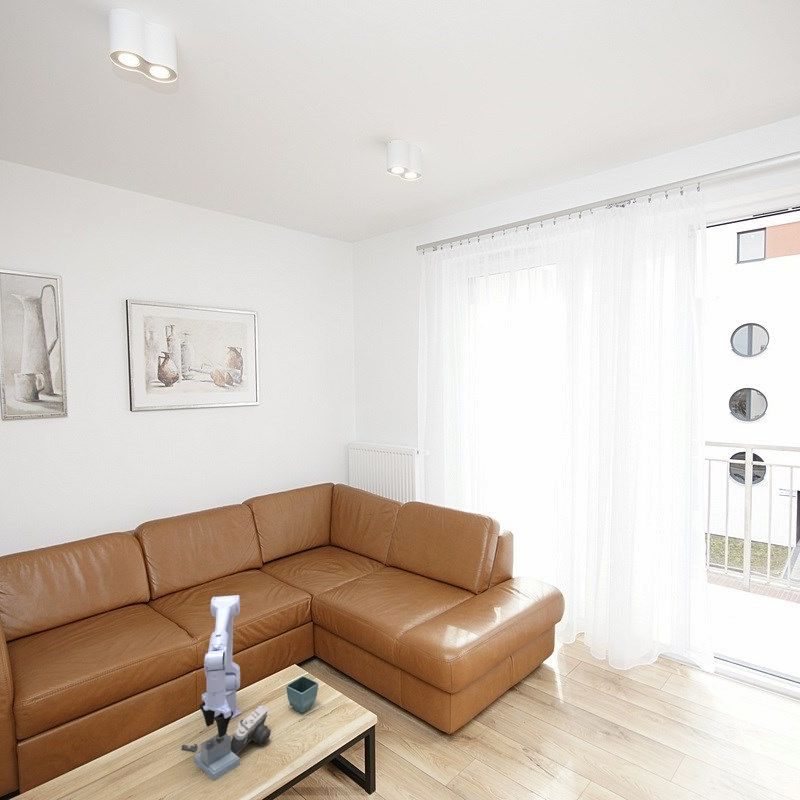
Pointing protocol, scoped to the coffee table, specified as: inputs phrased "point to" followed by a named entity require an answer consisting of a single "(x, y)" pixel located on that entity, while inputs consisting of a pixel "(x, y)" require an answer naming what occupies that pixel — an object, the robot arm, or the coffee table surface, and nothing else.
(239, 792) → the coffee table surface
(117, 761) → the coffee table surface
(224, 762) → the stand
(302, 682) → the flower pot
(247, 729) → the camera
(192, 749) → the bolt
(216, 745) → the block
